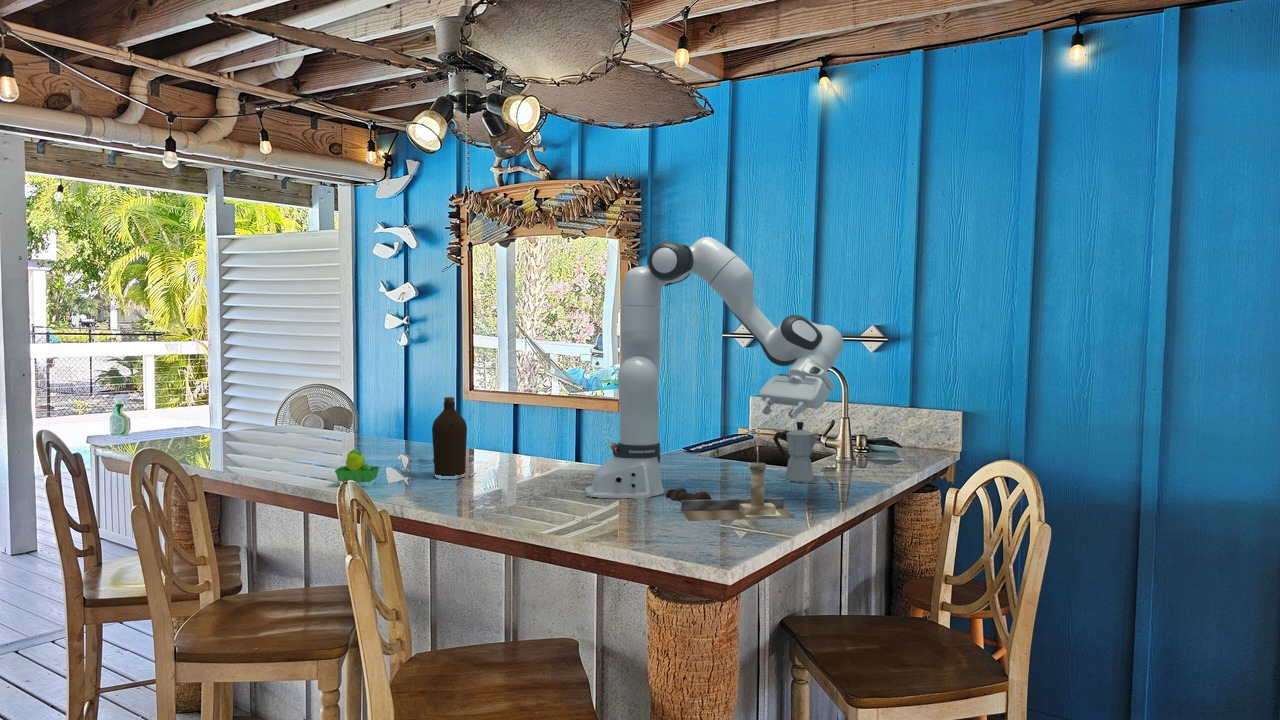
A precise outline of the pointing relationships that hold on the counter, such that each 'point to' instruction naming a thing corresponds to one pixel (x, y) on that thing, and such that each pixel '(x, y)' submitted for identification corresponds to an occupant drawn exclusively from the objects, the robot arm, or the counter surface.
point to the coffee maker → (798, 453)
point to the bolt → (686, 495)
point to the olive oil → (449, 441)
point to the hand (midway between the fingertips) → (777, 414)
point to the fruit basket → (356, 469)
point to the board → (728, 509)
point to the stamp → (757, 494)
